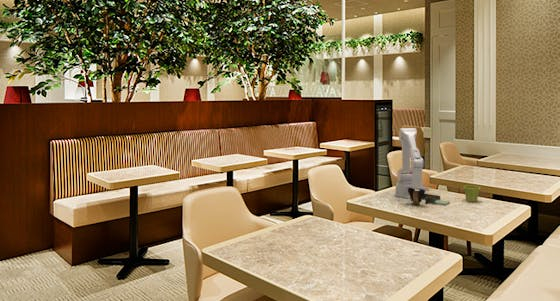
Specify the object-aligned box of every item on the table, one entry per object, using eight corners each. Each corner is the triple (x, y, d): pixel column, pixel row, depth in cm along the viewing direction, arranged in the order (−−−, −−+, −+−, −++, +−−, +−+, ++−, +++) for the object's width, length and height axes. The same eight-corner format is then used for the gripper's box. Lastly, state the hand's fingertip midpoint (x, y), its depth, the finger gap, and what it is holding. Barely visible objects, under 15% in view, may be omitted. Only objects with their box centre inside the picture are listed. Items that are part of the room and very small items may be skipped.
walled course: (413, 201, 260) (413, 196, 259) (421, 198, 268) (421, 192, 268) (432, 205, 252) (432, 199, 251) (440, 201, 260) (440, 195, 260)
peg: (411, 204, 253) (411, 191, 252) (414, 203, 256) (414, 190, 255) (417, 205, 251) (418, 192, 250) (420, 204, 254) (421, 191, 253)
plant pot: (477, 203, 254) (478, 189, 252) (461, 201, 259) (461, 187, 258) (481, 200, 261) (482, 186, 260) (465, 198, 267) (465, 184, 266)
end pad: (433, 203, 255) (433, 202, 255) (438, 201, 260) (438, 199, 260) (445, 205, 250) (445, 203, 250) (449, 203, 256) (449, 201, 255)
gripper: (402, 178, 253) (401, 200, 255) (425, 181, 244) (425, 204, 245) (407, 176, 259) (407, 198, 260) (431, 179, 249) (430, 202, 251)
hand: (416, 201), depth 253 cm, fingers closed on peg, 4 cm apart
